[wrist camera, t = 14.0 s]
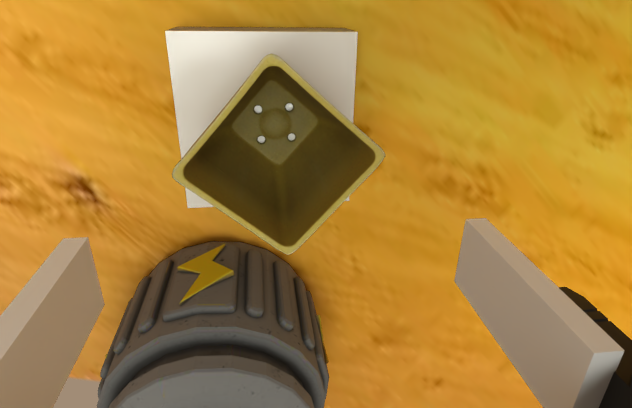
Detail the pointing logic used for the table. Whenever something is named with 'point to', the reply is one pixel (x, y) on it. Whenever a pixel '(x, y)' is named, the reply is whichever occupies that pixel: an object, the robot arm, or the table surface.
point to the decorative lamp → (218, 335)
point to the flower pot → (278, 157)
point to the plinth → (240, 61)
